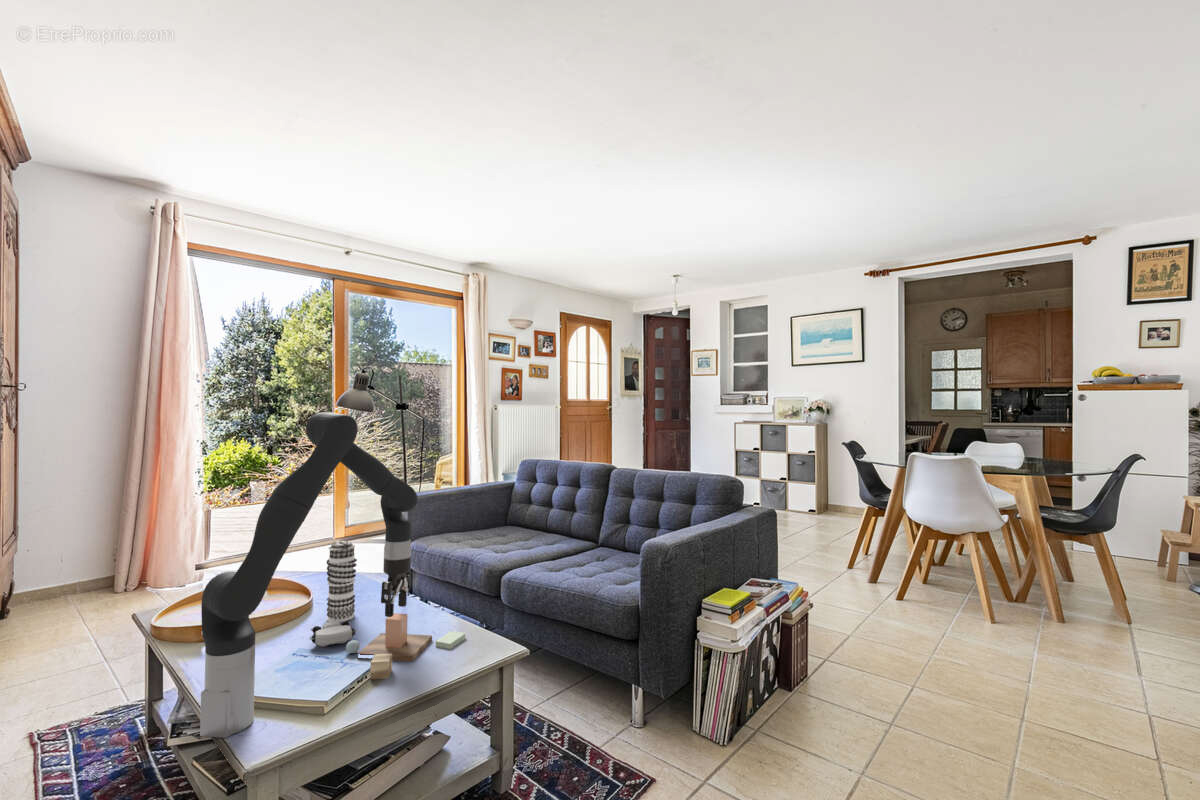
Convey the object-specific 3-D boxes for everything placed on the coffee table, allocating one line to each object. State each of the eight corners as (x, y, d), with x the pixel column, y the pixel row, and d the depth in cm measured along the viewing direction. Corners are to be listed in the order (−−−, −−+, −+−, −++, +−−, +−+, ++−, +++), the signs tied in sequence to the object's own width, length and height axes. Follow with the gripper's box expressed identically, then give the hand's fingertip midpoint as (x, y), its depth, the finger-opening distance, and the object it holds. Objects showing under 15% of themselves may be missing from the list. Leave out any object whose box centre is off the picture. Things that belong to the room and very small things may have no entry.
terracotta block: (400, 647, 159) (400, 619, 159) (385, 646, 159) (385, 619, 160) (407, 641, 164) (407, 613, 164) (392, 640, 164) (392, 613, 164)
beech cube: (388, 678, 144) (388, 661, 145) (370, 679, 144) (370, 662, 144) (391, 670, 149) (392, 653, 149) (374, 671, 148) (374, 654, 148)
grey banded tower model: (345, 623, 180) (346, 546, 180) (319, 621, 181) (320, 545, 181) (361, 613, 189) (362, 539, 189) (336, 611, 190) (338, 538, 190)
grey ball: (355, 656, 156) (355, 643, 157) (343, 655, 157) (343, 643, 157) (362, 650, 160) (362, 638, 160) (350, 650, 160) (350, 637, 160)
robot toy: (308, 638, 171) (310, 653, 158) (308, 623, 171) (311, 637, 158) (351, 630, 177) (357, 644, 164) (352, 616, 177) (357, 629, 164)
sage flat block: (449, 650, 162) (450, 643, 162) (435, 647, 164) (435, 641, 164) (465, 639, 170) (465, 633, 170) (451, 637, 171) (451, 630, 171)
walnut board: (412, 661, 154) (412, 656, 154) (357, 658, 155) (357, 653, 155) (431, 640, 168) (432, 635, 168) (381, 637, 169) (381, 632, 169)
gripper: (399, 562, 155) (397, 621, 154) (419, 549, 169) (418, 603, 168) (373, 561, 155) (371, 619, 155) (396, 548, 169) (394, 602, 169)
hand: (395, 611), depth 162 cm, fingers open, 8 cm apart
